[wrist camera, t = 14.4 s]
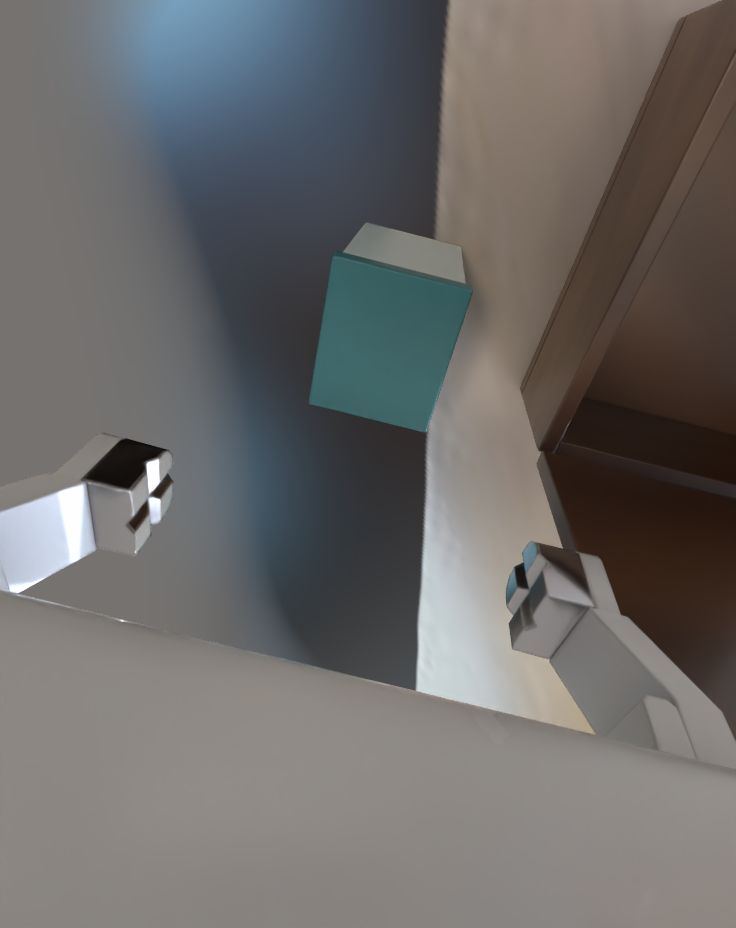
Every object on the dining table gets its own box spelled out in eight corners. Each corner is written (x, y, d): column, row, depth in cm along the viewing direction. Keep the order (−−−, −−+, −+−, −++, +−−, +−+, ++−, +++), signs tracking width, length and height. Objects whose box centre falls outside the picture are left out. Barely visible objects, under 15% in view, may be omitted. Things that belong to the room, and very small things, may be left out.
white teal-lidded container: (363, 217, 25) (332, 254, 18) (465, 244, 25) (473, 290, 18) (340, 335, 29) (307, 404, 22) (430, 358, 29) (426, 433, 22)
